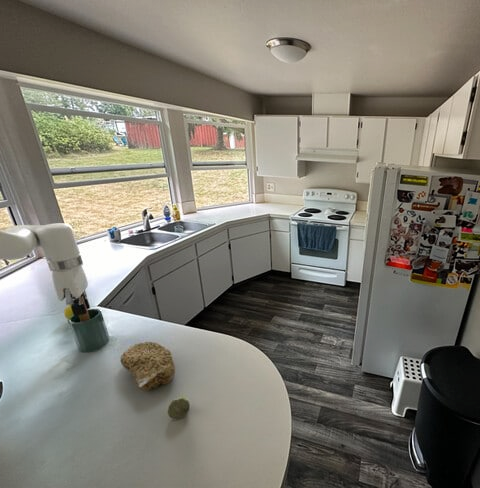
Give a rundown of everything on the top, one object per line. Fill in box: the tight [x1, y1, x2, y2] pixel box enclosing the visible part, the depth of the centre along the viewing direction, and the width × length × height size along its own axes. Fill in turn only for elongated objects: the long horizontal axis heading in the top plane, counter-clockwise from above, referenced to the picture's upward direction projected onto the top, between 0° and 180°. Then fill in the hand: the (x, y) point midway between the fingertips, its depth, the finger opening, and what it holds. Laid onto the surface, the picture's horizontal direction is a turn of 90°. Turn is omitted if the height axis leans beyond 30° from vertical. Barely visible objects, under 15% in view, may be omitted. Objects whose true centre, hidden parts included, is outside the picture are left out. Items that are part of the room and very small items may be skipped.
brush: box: [73, 296, 90, 322], centre depth 86 cm, size 4×4×16 cm
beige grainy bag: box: [120, 341, 176, 392], centre depth 79 cm, size 13×8×20 cm
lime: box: [167, 396, 191, 421], centre depth 66 cm, size 4×5×5 cm
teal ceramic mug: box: [67, 308, 111, 353], centre depth 88 cm, size 8×8×12 cm
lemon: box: [63, 305, 74, 320], centre depth 100 cm, size 6×6×8 cm
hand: (82, 311), depth 85 cm, fingers closed on brush, 2 cm apart
